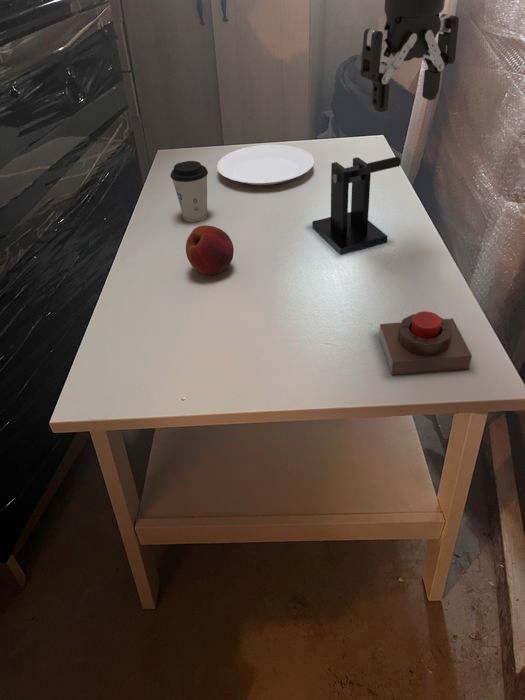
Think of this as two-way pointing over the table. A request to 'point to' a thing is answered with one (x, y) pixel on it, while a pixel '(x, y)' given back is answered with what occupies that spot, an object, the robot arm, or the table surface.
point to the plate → (265, 164)
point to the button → (426, 325)
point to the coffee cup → (191, 189)
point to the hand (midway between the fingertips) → (405, 104)
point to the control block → (423, 348)
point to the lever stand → (349, 213)
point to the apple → (209, 249)
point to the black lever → (372, 168)
